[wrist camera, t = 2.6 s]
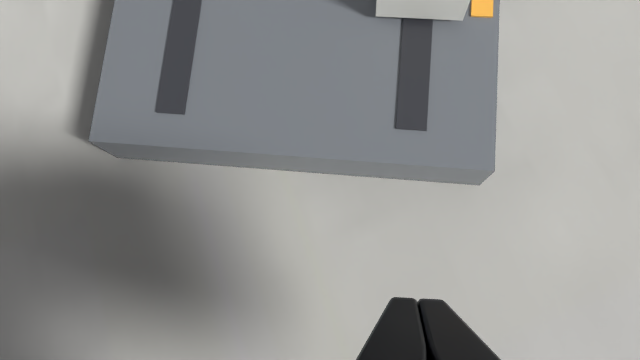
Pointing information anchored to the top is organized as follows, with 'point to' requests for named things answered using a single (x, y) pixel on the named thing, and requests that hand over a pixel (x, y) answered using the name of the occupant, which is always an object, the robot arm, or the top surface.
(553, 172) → the top surface
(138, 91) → the breaker panel
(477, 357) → the robot arm
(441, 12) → the block
